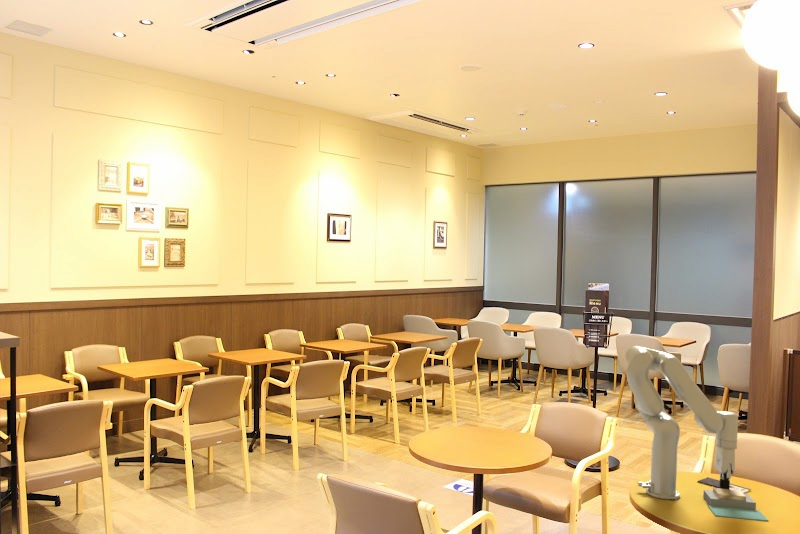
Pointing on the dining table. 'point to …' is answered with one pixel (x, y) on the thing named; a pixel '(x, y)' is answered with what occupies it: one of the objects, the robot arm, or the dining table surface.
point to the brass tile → (729, 494)
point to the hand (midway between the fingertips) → (724, 489)
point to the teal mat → (737, 513)
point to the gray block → (729, 501)
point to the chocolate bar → (717, 484)
